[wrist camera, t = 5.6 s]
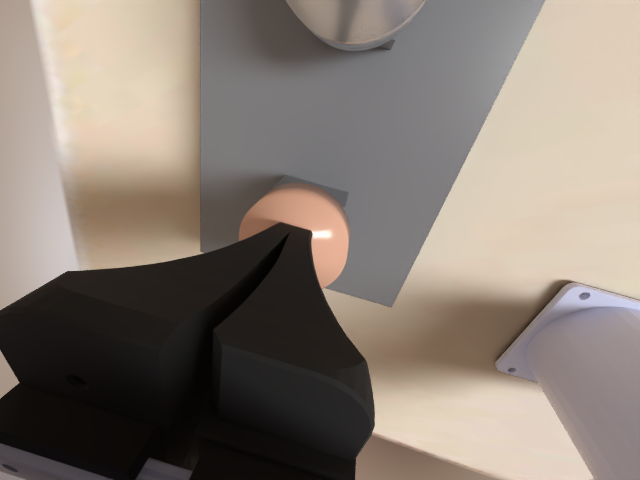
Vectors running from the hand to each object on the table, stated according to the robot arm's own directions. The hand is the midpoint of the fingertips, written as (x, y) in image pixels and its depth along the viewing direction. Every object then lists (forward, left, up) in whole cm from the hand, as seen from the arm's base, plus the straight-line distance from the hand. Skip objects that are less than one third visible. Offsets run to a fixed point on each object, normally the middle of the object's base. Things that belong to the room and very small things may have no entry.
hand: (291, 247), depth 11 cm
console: (0, -4, -6) cm, 7 cm away
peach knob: (0, 0, -6) cm, 6 cm away
